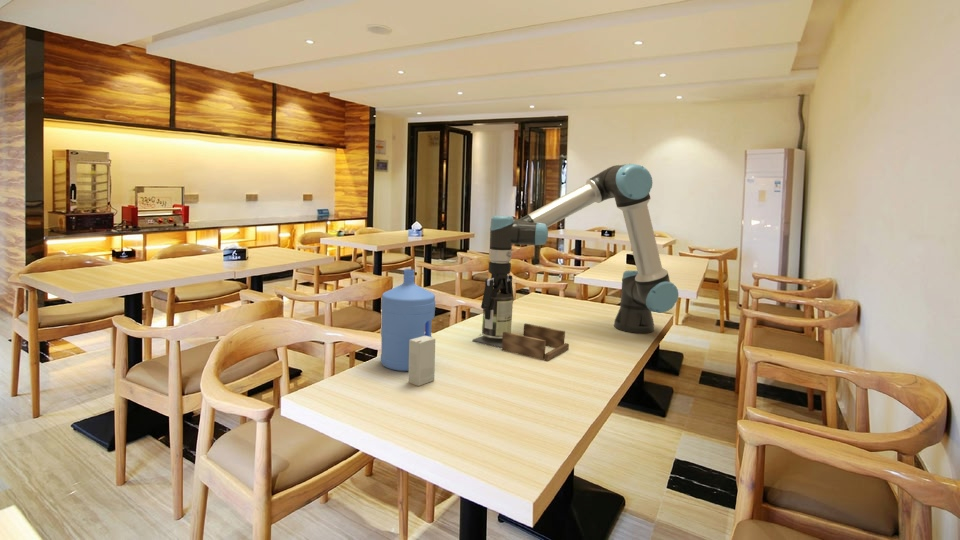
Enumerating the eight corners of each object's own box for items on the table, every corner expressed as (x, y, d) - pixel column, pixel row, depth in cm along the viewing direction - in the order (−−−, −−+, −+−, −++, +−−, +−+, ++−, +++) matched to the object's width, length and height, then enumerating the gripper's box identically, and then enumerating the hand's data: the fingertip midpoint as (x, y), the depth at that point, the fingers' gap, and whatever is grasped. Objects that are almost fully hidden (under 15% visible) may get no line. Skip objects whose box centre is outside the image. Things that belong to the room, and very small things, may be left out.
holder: (568, 349, 175) (569, 332, 174) (547, 361, 162) (549, 342, 161) (524, 339, 184) (525, 323, 183) (501, 350, 171) (502, 332, 170)
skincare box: (423, 376, 144) (424, 334, 143) (435, 381, 142) (436, 338, 140) (407, 382, 140) (407, 338, 138) (418, 387, 137) (419, 342, 135)
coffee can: (480, 337, 176) (482, 296, 174) (483, 329, 186) (484, 290, 184) (510, 339, 175) (512, 298, 173) (512, 331, 185) (514, 292, 183)
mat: (519, 340, 183) (520, 338, 183) (502, 348, 173) (502, 346, 173) (491, 334, 189) (491, 332, 189) (472, 341, 180) (472, 339, 180)
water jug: (390, 375, 145) (391, 275, 140) (374, 358, 158) (375, 266, 154) (442, 368, 152) (444, 273, 148) (422, 352, 166) (424, 265, 161)
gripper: (491, 266, 166) (488, 334, 169) (525, 259, 184) (522, 321, 188) (471, 263, 170) (469, 329, 173) (507, 257, 188) (504, 317, 192)
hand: (496, 325), depth 180 cm, fingers closed on coffee can, 10 cm apart
